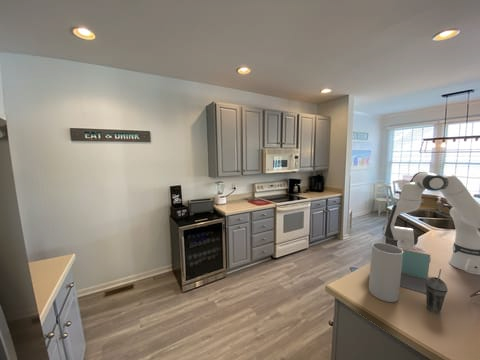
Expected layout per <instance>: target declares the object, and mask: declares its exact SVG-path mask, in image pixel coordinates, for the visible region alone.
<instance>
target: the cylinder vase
mask: <svg viewBox="0 0 480 360" xmlns="http://www.w3.org/2000/svg"><path fill="white" fill-rule="evenodd" d="M370 256H371V257H370V268H369V281H368V291H369V293H370V294H371V295H372V296H373V297H375V298H376V299H379V300H381V301H384V302H387V303H396V302H397V301H398V300H399V297H400V279H401V269H402V260H403V250H402V249H400V248H398V246H395V245H394V244H393V245H392V244H391V243H390V244H389V243H384V242H373V243H372V244H371V255H370Z"/></svg>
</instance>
